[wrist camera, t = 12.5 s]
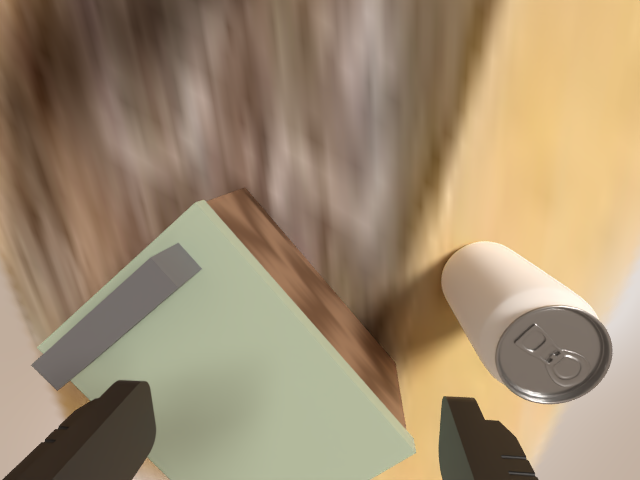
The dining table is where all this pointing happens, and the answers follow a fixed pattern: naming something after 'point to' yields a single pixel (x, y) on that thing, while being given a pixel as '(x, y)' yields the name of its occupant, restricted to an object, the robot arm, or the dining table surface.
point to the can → (526, 324)
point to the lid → (225, 366)
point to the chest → (311, 295)
